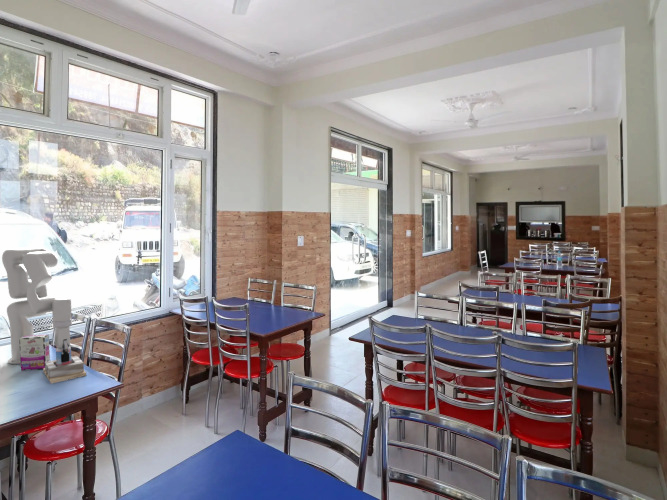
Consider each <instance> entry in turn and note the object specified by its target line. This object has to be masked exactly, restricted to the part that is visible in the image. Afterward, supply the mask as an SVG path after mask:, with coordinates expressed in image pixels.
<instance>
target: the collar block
mask: <svg viewBox="0 0 667 500" xmlns="http://www.w3.org/2000/svg"><path fill="white" fill-rule="evenodd" d="M84 364H85V363H84V361H83V360H82V359H81V358H80V357H79V356H78V355H74V356H71V364H66V365H61V366H56V359H55V360H50V361H48V362H45V368H43V369H42V371H43V373H44V375H45V376H46V378H47V380H48V382H49V383H50V384H51V385H52V384H56V383H59V382H64V381H68V379H69V380H72V379H77V377H78V378H82V377H86V376H87V372H86V371H85V365H84Z"/></svg>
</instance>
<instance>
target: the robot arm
mask: <svg viewBox="0 0 667 500" xmlns="http://www.w3.org/2000/svg"><path fill="white" fill-rule="evenodd" d="M1 260H2V265H3V267H4V269H5V272H6V276H7V286H8V288H7V289H8V294H9V296H10V298H11V299H14V300H17V301H15V302H12V303H10V304H8V306H7V307H6V314H7V317H8V322H9V330H10V332H9V333H10V351H11V358H9V359H8V360H7V363H8V364H10V365H21V361H20V343H19V338H21V337H23V336H32V335H34V325H33V323H32V322H31V321H29V320H28V319H31V318H36V317H41V316H44V315H46V314H47V313H52V328H53V329H54V345H55V347H56V348H58V349H60V348H61V352H62V354H61V362H62V363H63V362H67V361H69V349H68V347H71V333H70V332H71V331H70V327H71V326H73V321H72V314H73V313H72V299H71V298H70V297H66V296H64V295H61V294H57V295H50V296H48V290H47V289H48V288H47V285H46V284H47V283H49V282H51V280H52V278H53V275H52V273H51V272H50V269H49V268H53V267H56V266H57V265H58V256H57V255H56V253H55V252H54V251H52V250H50V249H47V248H46V247H41V246H32V247H31V246H30V247H15V248H13V247H12V248H8V249H6V250H5V251H4V252H3V253H2V256H1ZM26 298H27V299H26ZM19 299H26V300H19ZM18 300H19V301H18ZM62 346H64V347H63V348H62ZM63 349H64V350H63Z"/></svg>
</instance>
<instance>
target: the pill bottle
mask: <svg viewBox="0 0 667 500" xmlns="http://www.w3.org/2000/svg"><path fill="white" fill-rule="evenodd" d="M63 347H64V346H62V348H63ZM68 349H69V361H67V362H63V363H62V362H61V354H62V352H61V348H60V349H58V348H57V347H56V349H55V360H56V366H61V365H66V364H71V357H72V348H71V346H70V347H68ZM63 350H64V349H63Z"/></svg>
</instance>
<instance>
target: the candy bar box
mask: <svg viewBox="0 0 667 500" xmlns="http://www.w3.org/2000/svg"><path fill="white" fill-rule="evenodd" d="M19 343H20V361H21V364H20V370H21V371H33V370H43V368H45V362H48V361H51V356H50V354H51V353H50V351H51V350H50V336H49V334H36V335H32V336H23V337H21V338H19Z"/></svg>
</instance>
